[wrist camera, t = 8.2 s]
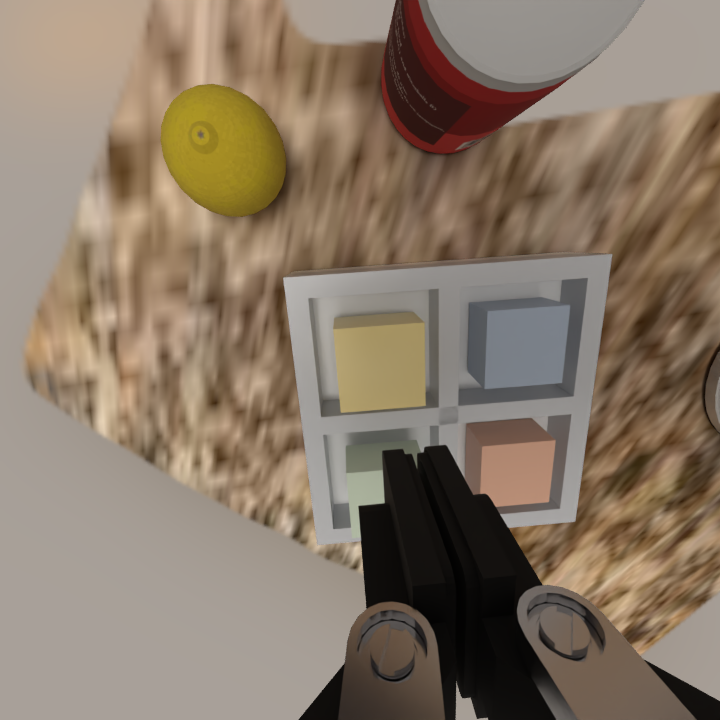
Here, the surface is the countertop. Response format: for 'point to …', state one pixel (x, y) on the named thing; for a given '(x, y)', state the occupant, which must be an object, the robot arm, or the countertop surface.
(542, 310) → the key slate
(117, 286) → the countertop surface
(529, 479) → the key terracotta
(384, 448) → the key sage
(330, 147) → the countertop surface
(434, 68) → the canned food
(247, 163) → the lemon
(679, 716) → the robot arm
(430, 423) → the keypad
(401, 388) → the key mustard
